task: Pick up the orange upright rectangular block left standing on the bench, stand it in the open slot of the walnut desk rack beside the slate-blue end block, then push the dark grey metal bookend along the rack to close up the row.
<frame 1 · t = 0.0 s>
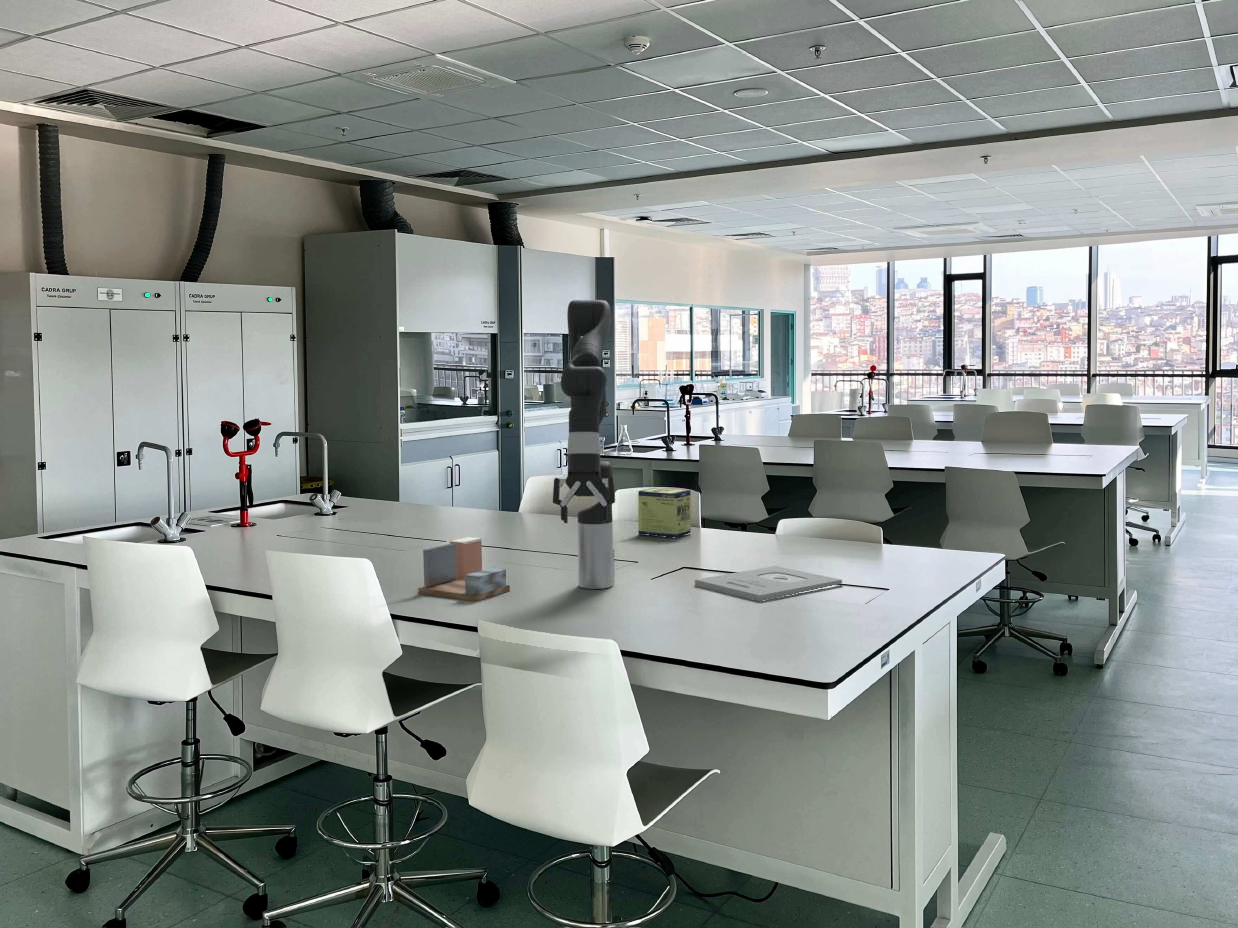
hand: (584, 522, 239), 22 cm above the table, tool pointing down, fingers open, 8 cm apart
orange upright rectangular block: (466, 579, 287), on the table
bookend: (440, 564, 275), point 7 cm above the table, slide at 0.0 cm
rack: (464, 592, 271), on the table
award plaque: (768, 588, 275), on the table
protein box: (664, 535, 361), on the table
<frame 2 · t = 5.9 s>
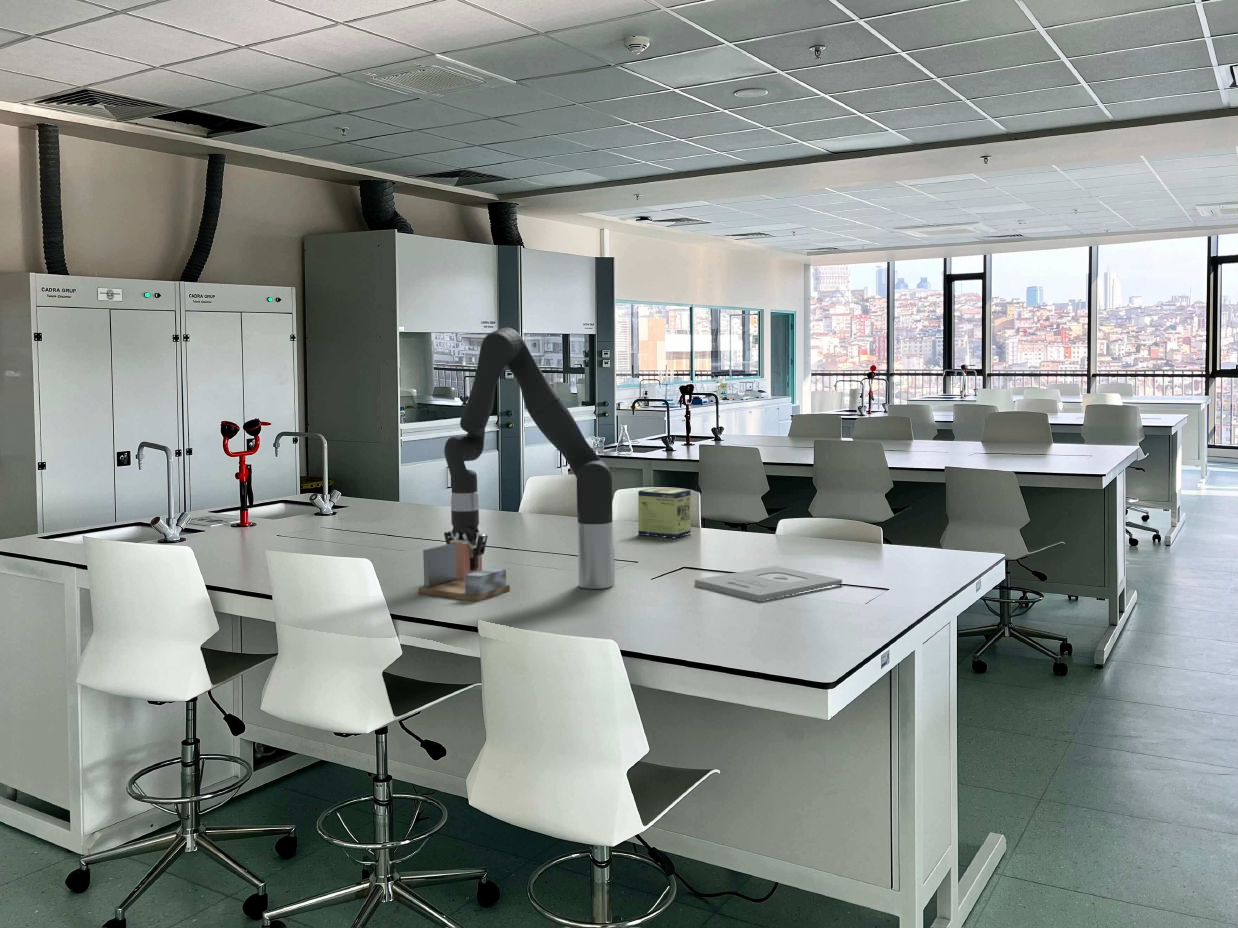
hand: (466, 569, 287), 3 cm above the table, tool pointing down, fingers closed on orange upright rectangular block, 4 cm apart
orange upright rectangular block: (466, 579, 287), on the table, touching gripper
everything else where it was.
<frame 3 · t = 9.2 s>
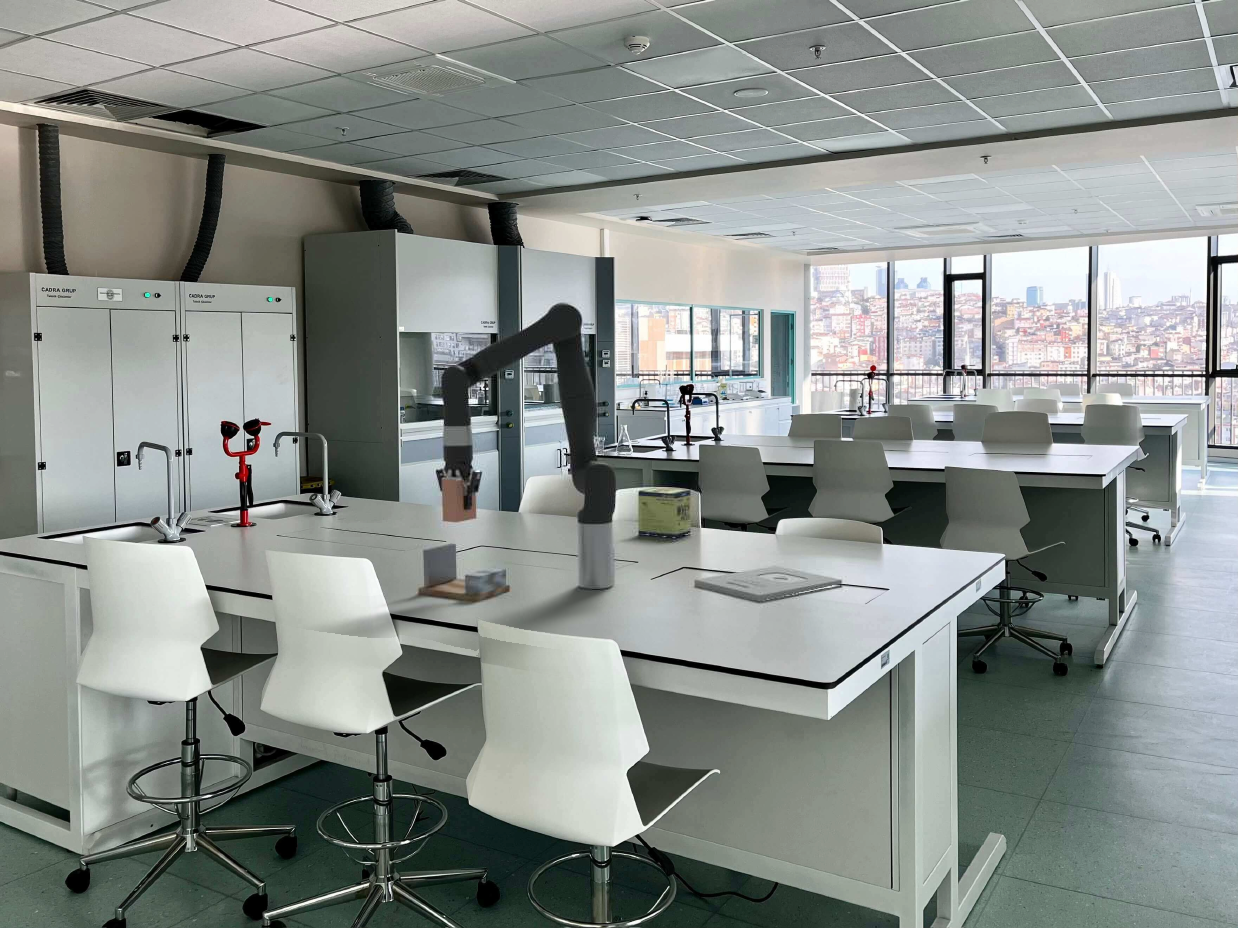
hand: (459, 508, 270), 22 cm above the table, tool pointing down, fingers closed on orange upright rectangular block, 4 cm apart
orange upright rectangular block: (459, 519, 270), point 19 cm above the table, touching gripper
everything else where it was.
when the fingers open (6 cm above the table, at t = 12.8 s): orange upright rectangular block drops 1 cm, resting on rack.
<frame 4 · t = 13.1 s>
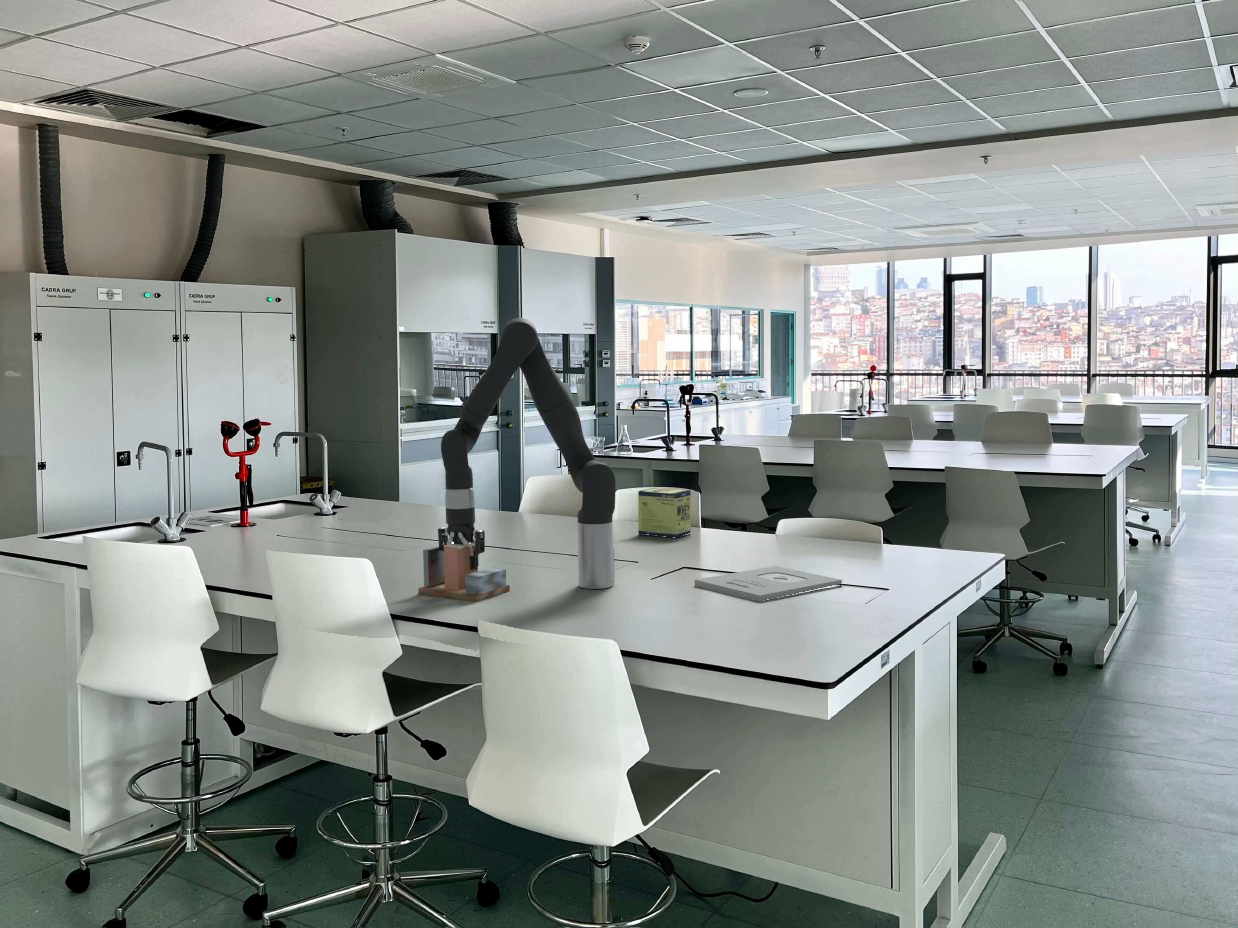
hand: (462, 568, 271), 6 cm above the table, tool pointing down, fingers open, 7 cm apart
orange upright rectangular block: (461, 586, 271), point 2 cm above the table, touching rack
bookend: (440, 564, 275), point 7 cm above the table, slide at 0.0 cm, touching hand
everything else where it was.
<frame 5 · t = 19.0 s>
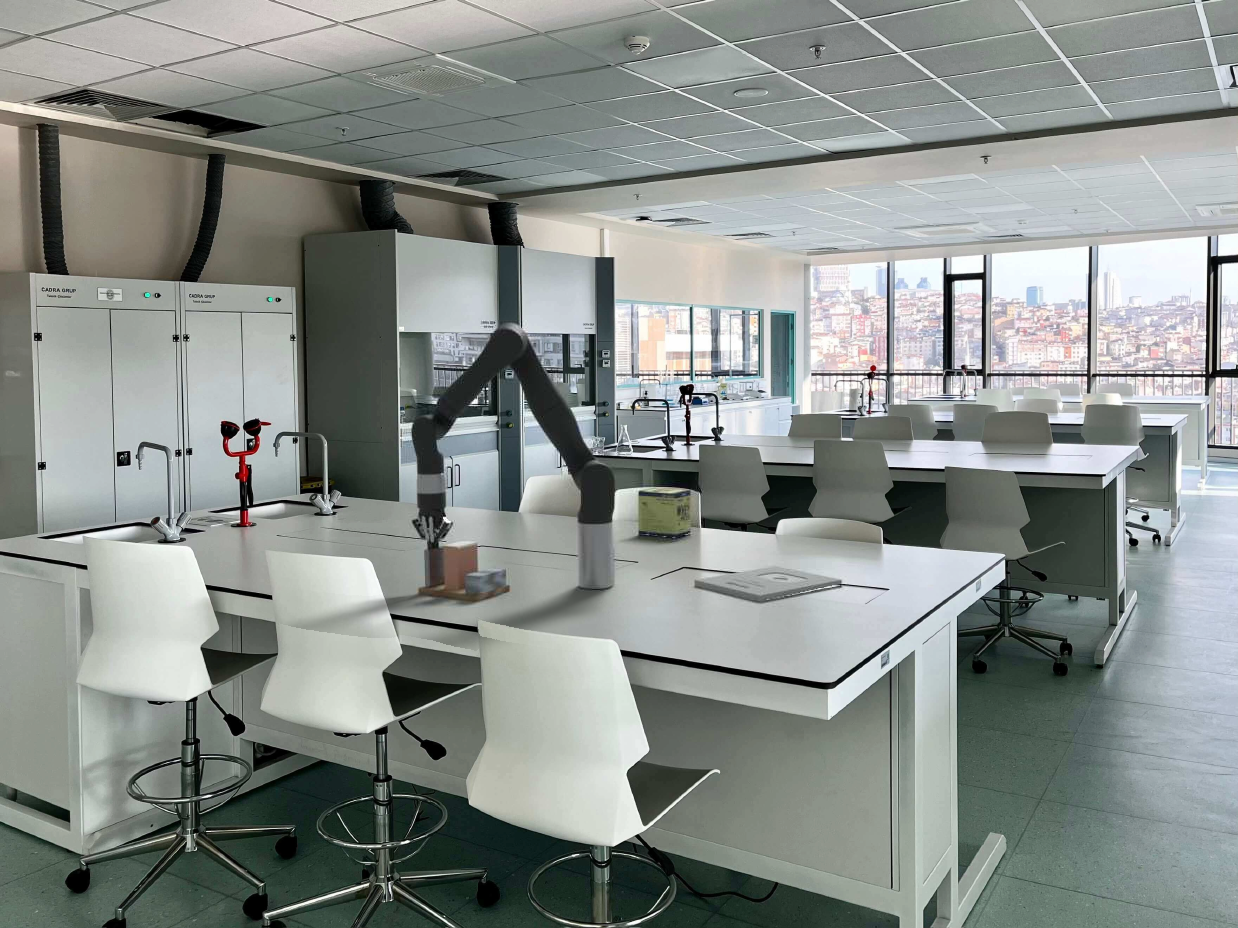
hand: (433, 555, 276), 9 cm above the table, tool pointing down, fingers closed
bookend: (441, 564, 274), point 7 cm above the table, slide at 0.3 cm, touching gripper
everything else where it was.
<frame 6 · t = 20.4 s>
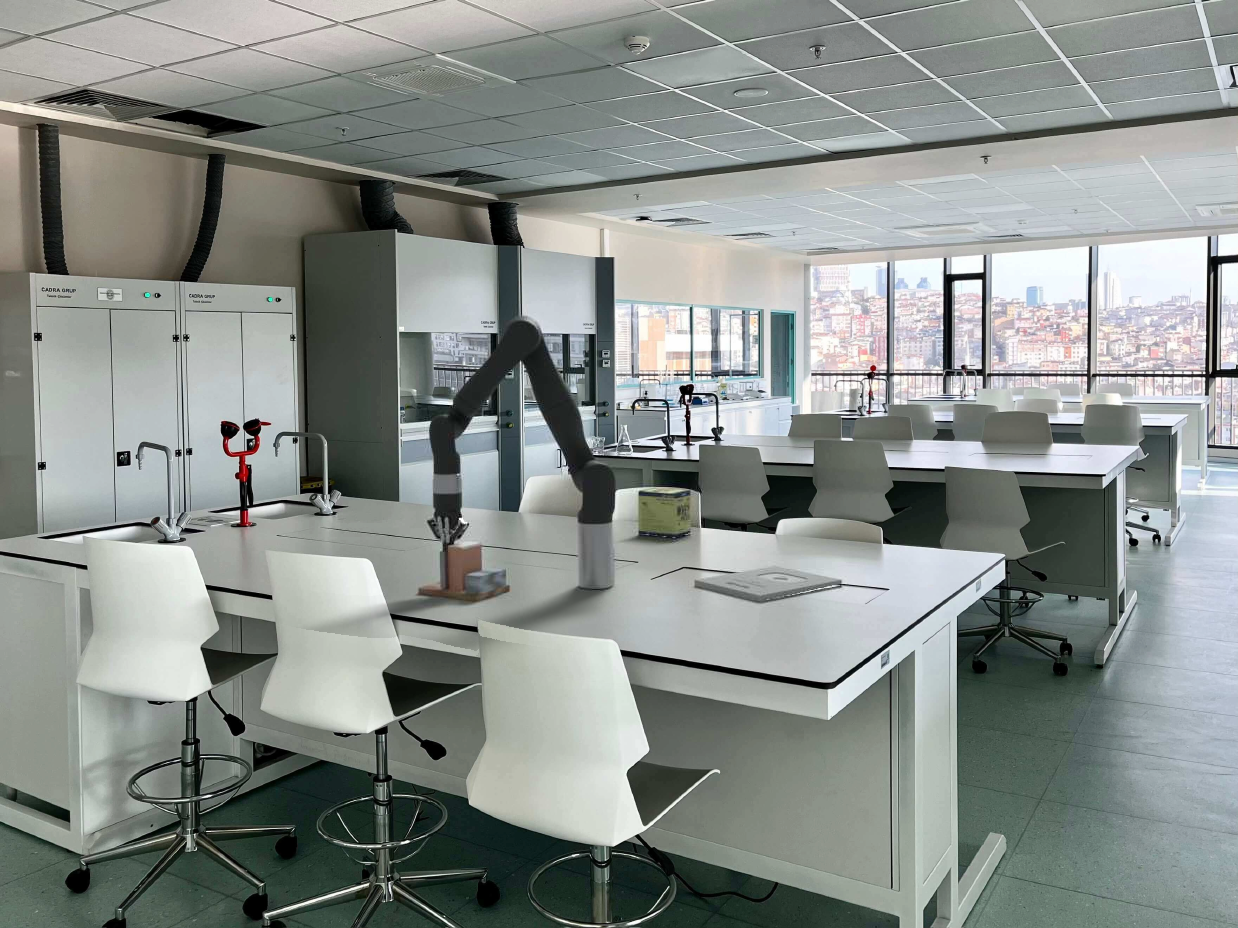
hand: (448, 555, 273), 9 cm above the table, tool pointing down, fingers closed
orange upright rectangular block: (465, 586, 271), point 2 cm above the table, touching bookend, rack
bookend: (456, 566, 272), point 7 cm above the table, slide at 5.6 cm, touching orange upright rectangular block, gripper
everything else where it was.
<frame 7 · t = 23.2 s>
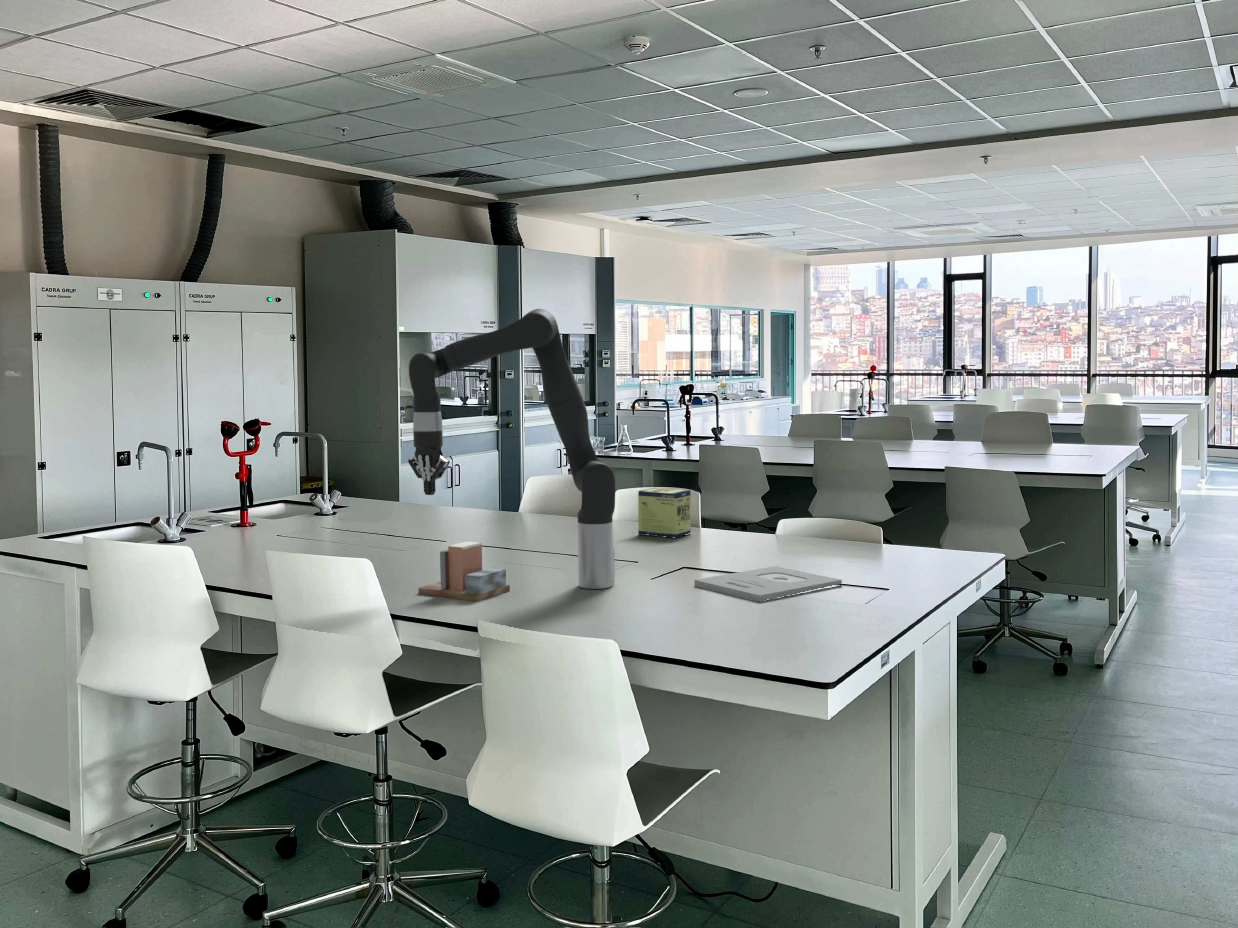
hand: (429, 494, 275), 25 cm above the table, tool pointing down, fingers closed
bookend: (456, 566, 272), point 7 cm above the table, slide at 5.7 cm, touching orange upright rectangular block
everything else where it was.
at the end: orange upright rectangular block inside the target area (0.3 cm from its centre), point 1.5 cm above the table; orange upright rectangular block tilted 0°; bookend slide at 5.7 cm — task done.
